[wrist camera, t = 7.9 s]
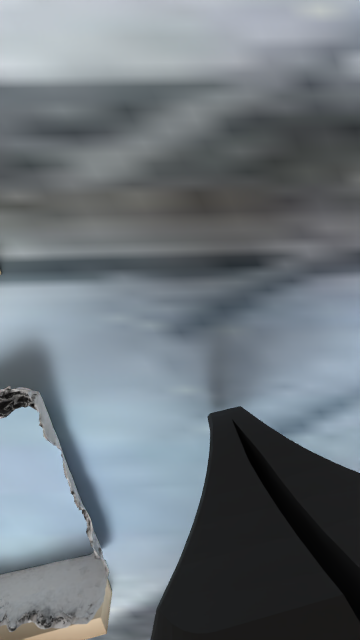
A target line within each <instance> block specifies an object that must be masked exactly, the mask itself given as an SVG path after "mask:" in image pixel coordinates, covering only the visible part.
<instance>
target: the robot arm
mask: <svg viewBox="0 0 360 640" xmlns="http://www.w3.org/2000/svg"><path fill="white" fill-rule="evenodd" d="M208 422H209V427H210V451H209V459H208V466H207V473H206V478H205V483H204V487H203V491H202V496H201V499H200V503H199V506H198V510H197V513H196V516H195V519H194V523H193V525H192V528H191V531H190V534H189V536H188V539H187V541H186V544H185V547H184V549H183V552H182V554H181V557H180V559H179V562H178V564H177V566H176V569H175V571H174V573H173V575H172V577H171V579H170V581H169V584H168V586H167V588H166V590H165V592H164V594H163V596H162V598H161V601H160V603H159V605H158V607H157V610H156V615H155V620H154V625H153V630H152V636H151V640H360V473H358V472H356V471H353V470H350V469H348V468H346V467H343V466H341V465H339V464H336V463H334V462H332V461H330V460H328V459H326V458H323V457H321V456H319V455H317V454H315V453H313V452H311V451H309V450H307V449H305V448H303V447H302V446H300V445H298V444H296V443H295V442H293V441H291V440H289V439H288V438H286V437H284V436H283V435H281V434H280V433H278V432H277V431H275V430H273V429H272V428H270V427H269V426H267V425H266V424H264V423H263V422H262V421H260V420H259V419H257V418H256V417H255V416H253V415H252V414H250V413H249V412H248V411H246V410H245V409H243V408H242V407H241V406H239V407H235V408H231V409H227V410H223V411H218V412H214V413H210V414H209V416H208Z"/></svg>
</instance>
